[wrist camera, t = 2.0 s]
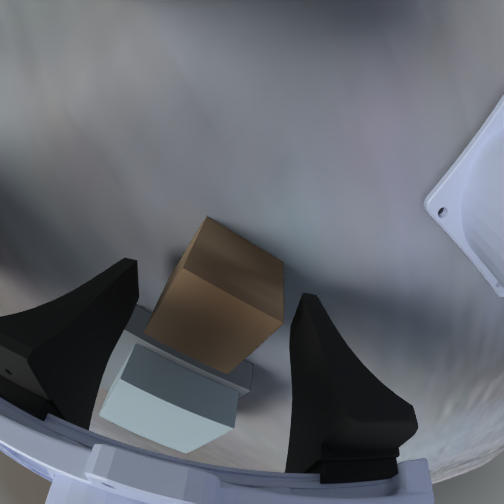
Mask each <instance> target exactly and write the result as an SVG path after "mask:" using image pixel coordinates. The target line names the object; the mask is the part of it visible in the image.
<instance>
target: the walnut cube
mask: <svg viewBox="0 0 504 504" xmlns="http://www.w3.org/2000/svg"><path fill="white" fill-rule="evenodd" d="M283 323H284V279H283V262H282V261H280V260H279V259H277V258H275V257H274V256H272V255H271V254H269V253H267V252H266V251H264V250H262V249H261V248H259V247H257V246H256V245H254V244H252V243H251V242H249V241H247V240H246V239H244V238H242V237H241V236H239V235H238V234H236V233H234V232H233V231H231V230H229V229H228V228H226V227H224V226H223V225H221V224H219V223H218V222H216V221H214V220H213V219H211V218H209V217H208V216H207V217H206V219H205V220H204V222H203V223H202V225H201V226H200V228H199V230H198V231H197V233H196V234H195V236H194V238H193V239H192V241H191V242H190V244H189V246H188V247H187V249H186V251H185V252H184V254H183V255H182V257H181V259H180V260H179V262H178V264H177V265H176V267H175V269H174V270H173V272H172V274H171V275H170V277H169V279H168V281H167V283H166V285H165V287H164V289H163V292H162V294H161V296H160V298H159V300H158V302H157V304H156V306H155V308H154V311H153V313H152V315H151V317H150V319H149V321H148V324H147V326H146V328H145V330H144V332H143V333H144V334H146V335H148V336H150V337H152V338H153V339H155V340H157V341H159V342H161V343H163V344H165V345H167V346H169V347H171V348H173V349H175V350H177V351H179V352H181V353H183V354H185V355H187V356H189V357H191V358H193V359H195V360H197V361H199V362H201V363H204V364H206V365H208V366H210V367H212V368H214V369H217V370H219V371H221V372H223V373H226V374H228V373H230V372H231V371H232V370H233V369H234V368H235V367H236V366H237V365H239V364H240V363H241V362H242V361H243V360H244V359H245V358H247V357H248V356H249V355H250V354H251V353H252V352H253V351H254V350H255V349H256V348H258V347H259V346H260V345H261V344H262V343H263V342H264V341H265V340H266V339H267V338H268V337H270V336H271V335H272V334H273V333H274V332H275V331H276V330H277V329H278V328H279V327H280V326H281V325H282V324H283Z"/></svg>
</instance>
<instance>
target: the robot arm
mask: <svg viewBox="0 0 504 504" xmlns="http://www.w3.org/2000/svg"><path fill="white" fill-rule="evenodd" d="M442 207H444V210H443V212H442V213H441V214H438V211H439V209H441V208H442ZM424 208H425V210H426V211H427V212H428V214H429V215H430V216H431V217H432V218H433V219H434V220H435V221H436V222H437V223H438V224H439V225H440V226H441V227H442V228H443V229H444V230H445V231H446V233H447V234H448V235H449V236H450V237H451V238H452V239H453V240H454V241H455V243H456V244H457V245H458V246H459V247H460V248H461V249H462V251H463V252H464V253H465V254H466V255H467V256H468V258H469V259H470V260H471V261H472V262H473V264H474V265H475V266H476V267H477V269H478V270H479V271H480V272H481V274H482V275H483V276H484V277H485V279H486V280H487V281H488V282H489V284H490V285H491V286H492V288H493V289H494V290H495V292H496V293H497V294H498V296H499V297H504V95H503V96H502V98H501V99H500V101H499V102H498V104H497V105H496V107H495V108H494V110H493V111H492V112H491V114H490V115H489V117H488V118H487V120H486V121H485V122H484V124H483V125H482V127H481V128H480V129H479V131H478V132H477V134H476V135H475V136H474V138H473V139H472V140H471V142H470V143H469V144H468V146H467V147H466V148H465V150H464V151H463V152H462V153H461V155H460V156H459V157H458V159H457V160H456V161H455V162H454V164H453V165H452V166H451V168H450V169H449V170H448V171H447V173H446V174H445V175H444V176H443V177H442V179H441V180H440V181H439V182H438V184H437V185H436V186H435V187H434V188H433V190H432V191H431V192H430V193H429V194H428V195H427V197H426V199H425V201H424ZM138 298H139V287H138V269H137V260H132V259H128V258H124V259H122V260H120V261H119V262H117V263H116V264H114V265H113V266H111V267H110V268H108V269H107V270H105V271H104V272H102V273H101V274H99V275H97V276H96V277H94V278H93V279H91V280H90V281H88V282H86V283H85V284H83V285H81V286H80V287H78V288H76V289H75V290H73V291H71V292H69V293H67V294H65V295H63V296H61V297H59V298H57V299H55V300H53V301H50V302H48V303H45V304H43V305H40V306H38V307H35V308H32V309H29V310H26V311H23V312H19V313H16V314H11V315H7V316H2V317H0V451H2V452H3V453H5V454H6V455H8V456H9V457H11V458H12V459H14V460H15V461H17V462H19V463H20V464H22V465H23V466H25V467H26V468H28V469H30V470H31V471H33V472H35V473H36V474H38V475H40V476H42V477H43V478H45V479H47V480H49V481H51V482H52V485H51V488H50V490H49V494H48V496H47V500H46V502H45V504H435V501H434V496H433V489H432V483H431V478H430V472H429V467H428V462H427V459H426V458H422V459H416V460H410V461H404V462H401V463H398V464H397V461H396V457H398V456H399V454H400V453H399V448H398V447H400V446H401V445H402V444H404V443H405V442H406V441H407V440H409V439H410V438H411V437H412V436H413V435H414V434H415V433H416V431H417V429H418V423H417V419H416V415H415V412H414V408H413V406H412V405H411V404H409V403H408V402H406V401H405V400H403V399H402V398H401V397H399V396H398V395H396V394H395V393H394V392H392V391H391V390H390V389H389V388H388V387H386V386H385V385H384V384H383V383H382V382H381V381H379V380H378V379H377V378H376V377H375V376H374V375H373V374H372V373H371V372H370V371H369V370H368V369H367V368H366V367H365V366H364V365H363V363H362V362H361V361H360V360H359V359H358V358H357V356H356V355H355V354H354V353H353V352H352V350H351V349H350V348H349V346H348V345H347V344H346V342H345V341H344V339H343V338H342V337H341V335H340V334H339V332H338V330H337V329H336V327H335V326H334V324H333V322H332V321H331V319H330V317H329V316H328V314H327V312H326V310H325V309H324V307H323V305H322V303H321V302H320V300H319V298H318V297H317V295H314V294H308V293H303V294H302V297H301V299H300V302H299V305H298V308H297V310H296V313H295V316H294V319H293V321H292V324H291V328H290V345H289V348H290V363H291V377H292V415H291V428H290V438H289V447H288V455H287V462H286V469H285V473H279V472H265V471H255V470H245V469H237V468H230V467H223V466H217V465H211V464H205V463H200V462H195V461H190V460H185V459H180V458H176V457H172V456H168V455H164V454H160V453H156V452H152V451H148V450H145V449H141V448H138V447H135V446H131V445H128V444H125V443H122V442H119V441H116V440H113V439H110V438H107V437H104V436H102V435H99V434H96V433H94V432H91V431H89V426H90V421H91V416H92V412H93V408H94V404H95V400H96V397H97V393H98V390H99V387H100V383H101V380H102V377H103V374H104V372H105V369H106V366H107V363H108V361H109V358H110V356H111V354H112V352H113V350H114V348H115V346H116V344H117V342H118V340H119V339H120V337H121V335H122V333H123V331H124V329H125V327H126V325H127V324H128V322H129V320H130V318H131V316H132V314H133V311H134V309H135V306H136V303H137V301H138Z"/></svg>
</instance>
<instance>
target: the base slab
mask: <svg viewBox="0 0 504 504" xmlns="http://www.w3.org/2000/svg"><path fill="white" fill-rule="evenodd" d="M151 315H152V313H150V312H149V311H147V310H145V309H143V308H142V307H140V306H138V305H136V306H135V309H134V311H133V314H132V316H131V318H130V320H129V322H128V324H127V325H126V327H125V329H124V331H123V333H122V335H121V337H120V339H119V340H118V342H117V344H116V346H115V348H114V350H113V352H112V354H111V356H110V358H109V361H108V363H107V366H106V369H105V372H104V374H103V377H102V380H101V383H100V387H101V388H103V389H105V390H106V391H108V392H109V390H110V388H111V386H112V384H113V382H114V380H115V379H116V377H117V375H118V373H119V371H120V370H121V368H122V366H123V364H124V363H125V361H126V359H127V357H128V356H129V354H130V352H131V350H132V349H133V347H134V345H135V344H136V343H137V344H138V345H140V346H142V347H144V348H146V349H148V350H150V351H152V352H153V353H155V354H157V355H159V356H161V357H163V358H165V359H167V360H169V361H171V362H173V363H175V364H177V365H179V366H181V367H183V368H186V369H188V370H190V371H192V372H194V373H196V374H198V375H201V376H203V377H205V378H207V379H209V380H212V381H214V382H216V383H219V384H221V385H223V386H226V387H228V388H230V389H233V390H235V391H238V392H239V395H238V400H239V399H240V398H241V397H243V396H244V395H246V394H247V393H248V392H250V391H251V385H252V374H253V364H251V363H249V362H247V361H245V360H243V361H242V362H241V363H240V364H239V365H237V366H236V367H235V368H234V369H233V370H232V371H231V372H230V373H228V374H226V373H223V372H221V371H219V370H217V369H214V368H212V367H210V366H208V365H206V364H204V363H201V362H199V361H197V360H195V359H193V358H191V357H189V356H187V355H185V354H183V353H181V352H179V351H177V350H175V349H173V348H171V347H169V346H167V345H165V344H163V343H161V342H159V341H157V340H155V339H153V338H152V337H150V336H148V335H146V334H144V333H143V332H144V330H145V328H146V326H147V324H148V321H149V319H150V317H151Z"/></svg>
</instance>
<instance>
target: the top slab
mask: <svg viewBox="0 0 504 504" xmlns="http://www.w3.org/2000/svg"><path fill="white" fill-rule="evenodd" d="M238 395H239V392H238V391H235V390H233V389H230V388H228V387H226V386H223V385H221V384H219V383H216V382H214V381H212V380H209V379H207V378H205V377H203V376H201V375H198V374H196V373H194V372H192V371H190V370H188V369H186V368H183V367H181V366H179V365H177V364H175V363H173V362H171V361H169V360H167V359H165V358H163V357H161V356H159V355H157V354H155V353H153V352H152V351H150V350H148V349H146V348H144V347H142V346H140V345H138V344H137V343H136V344H135V345H134V347H133V349H132V350H131V352H130V354H129V356H128V357H127V359H126V361H125V363H124V364H123V366H122V368H121V370H120V371H119V373H118V375H117V377H116V379H115V380H114V382H113V384H112V386H111V388H110V390H109V392H108V395H107V397H106V399H105V402H104V404H103V407H102V409H101V411H100V414H99V416H101V417H103V418H105V419H107V420H109V421H111V422H113V423H115V424H117V425H119V426H121V427H123V428H125V429H127V430H129V431H132V432H134V433H136V434H138V435H141V436H143V437H145V438H148V439H150V440H152V441H155V442H157V443H160V444H162V445H165V446H167V447H170V448H173V449H175V450H178V451H181V452H184V453H188V452H190V451H192V450H194V449H196V448H198V447H200V446H202V445H204V444H206V443H208V442H210V441H212V440H214V439H216V438H218V437H220V436H222V435H223V434H225V433H227V432H229V431H231V430H232V429H234V427H235V419H236V411H237V403H238Z"/></svg>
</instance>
